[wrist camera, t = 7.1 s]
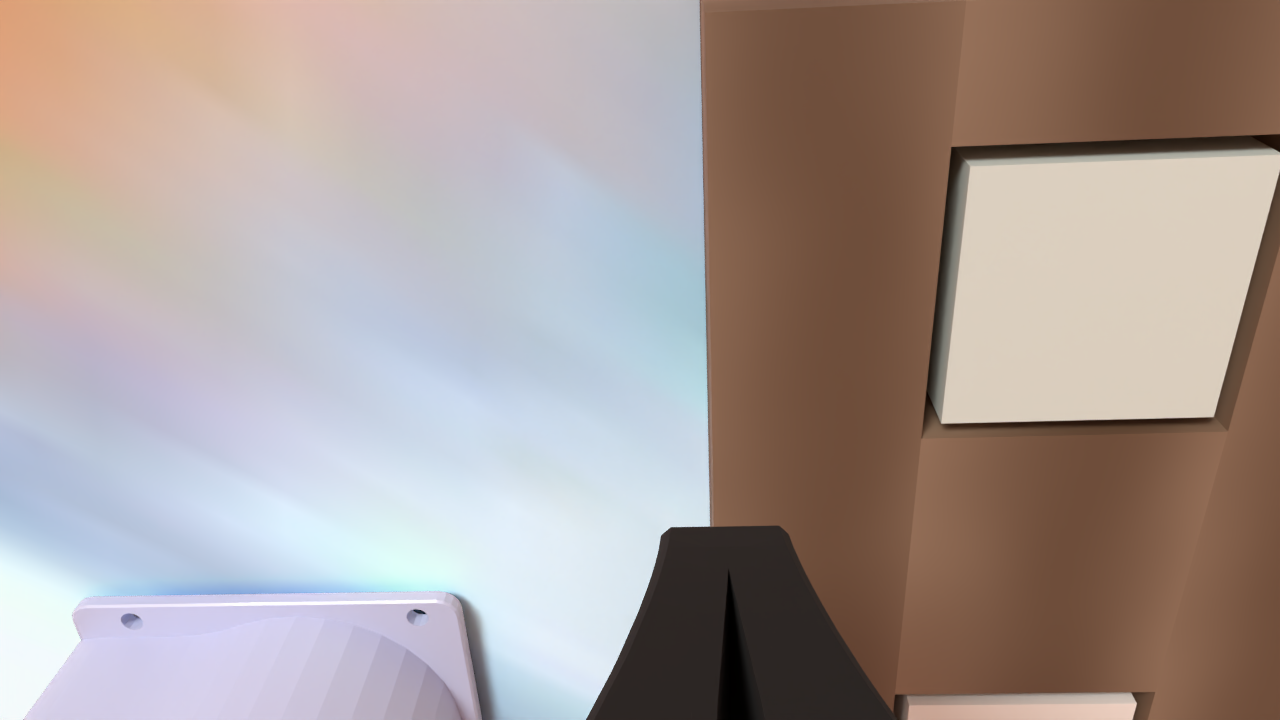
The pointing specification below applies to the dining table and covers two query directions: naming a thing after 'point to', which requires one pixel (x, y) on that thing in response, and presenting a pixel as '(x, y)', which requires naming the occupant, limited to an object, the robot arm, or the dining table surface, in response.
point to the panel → (901, 341)
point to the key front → (1095, 277)
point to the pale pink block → (1016, 706)
